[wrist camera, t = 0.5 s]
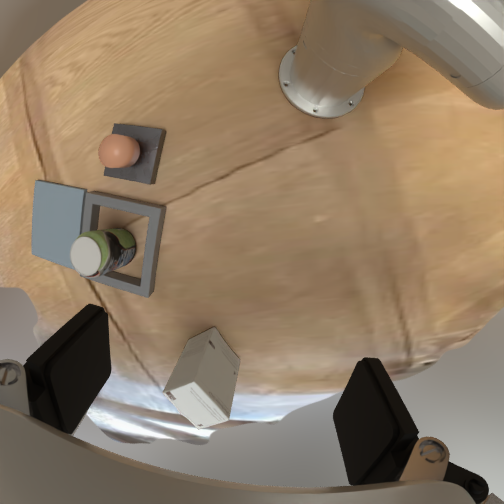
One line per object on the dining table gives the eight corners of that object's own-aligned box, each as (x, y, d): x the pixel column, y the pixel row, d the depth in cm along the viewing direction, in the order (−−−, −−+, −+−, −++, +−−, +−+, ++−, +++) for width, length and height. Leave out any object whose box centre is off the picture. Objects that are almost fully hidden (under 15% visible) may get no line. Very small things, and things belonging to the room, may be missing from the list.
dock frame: (94, 191, 41) (86, 192, 39) (166, 206, 42) (160, 208, 39) (87, 271, 45) (80, 276, 43) (153, 291, 45) (148, 297, 43)
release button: (116, 135, 35) (102, 132, 31) (142, 138, 36) (130, 135, 32) (109, 165, 37) (95, 165, 33) (136, 169, 37) (123, 170, 33)
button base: (120, 125, 38) (114, 123, 37) (166, 131, 39) (162, 129, 37) (109, 175, 41) (103, 175, 39) (154, 183, 41) (150, 184, 39)
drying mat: (38, 180, 41) (35, 180, 40) (87, 189, 41) (84, 190, 40) (34, 252, 45) (31, 254, 44) (80, 269, 45) (77, 270, 44)
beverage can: (106, 261, 44) (67, 287, 33) (105, 217, 42) (62, 233, 31) (139, 265, 44) (105, 295, 33) (139, 220, 42) (101, 237, 31)
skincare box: (240, 359, 48) (234, 421, 34) (212, 372, 49) (199, 432, 35) (213, 323, 47) (195, 381, 32) (184, 338, 48) (160, 395, 33)
